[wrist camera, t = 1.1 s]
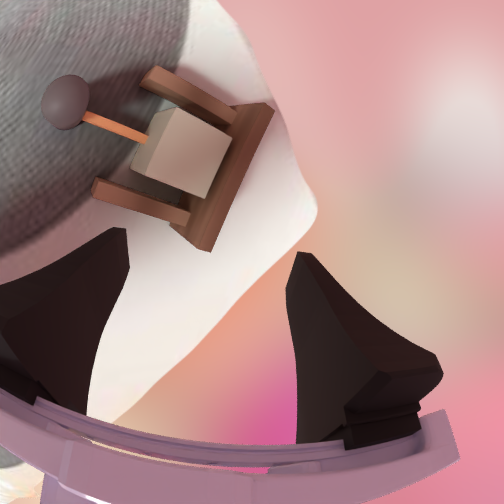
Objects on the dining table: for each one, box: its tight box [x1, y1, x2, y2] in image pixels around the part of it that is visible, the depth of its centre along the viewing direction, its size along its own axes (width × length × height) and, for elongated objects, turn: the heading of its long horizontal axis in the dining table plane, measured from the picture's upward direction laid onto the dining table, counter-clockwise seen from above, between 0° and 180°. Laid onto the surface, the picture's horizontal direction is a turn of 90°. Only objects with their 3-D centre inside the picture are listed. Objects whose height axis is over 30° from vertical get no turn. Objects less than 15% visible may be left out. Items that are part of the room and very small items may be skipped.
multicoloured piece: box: [41, 75, 232, 199], centre depth 16 cm, size 14×5×6 cm, turn 59°
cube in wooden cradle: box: [91, 65, 275, 253], centre depth 18 cm, size 9×12×6 cm
